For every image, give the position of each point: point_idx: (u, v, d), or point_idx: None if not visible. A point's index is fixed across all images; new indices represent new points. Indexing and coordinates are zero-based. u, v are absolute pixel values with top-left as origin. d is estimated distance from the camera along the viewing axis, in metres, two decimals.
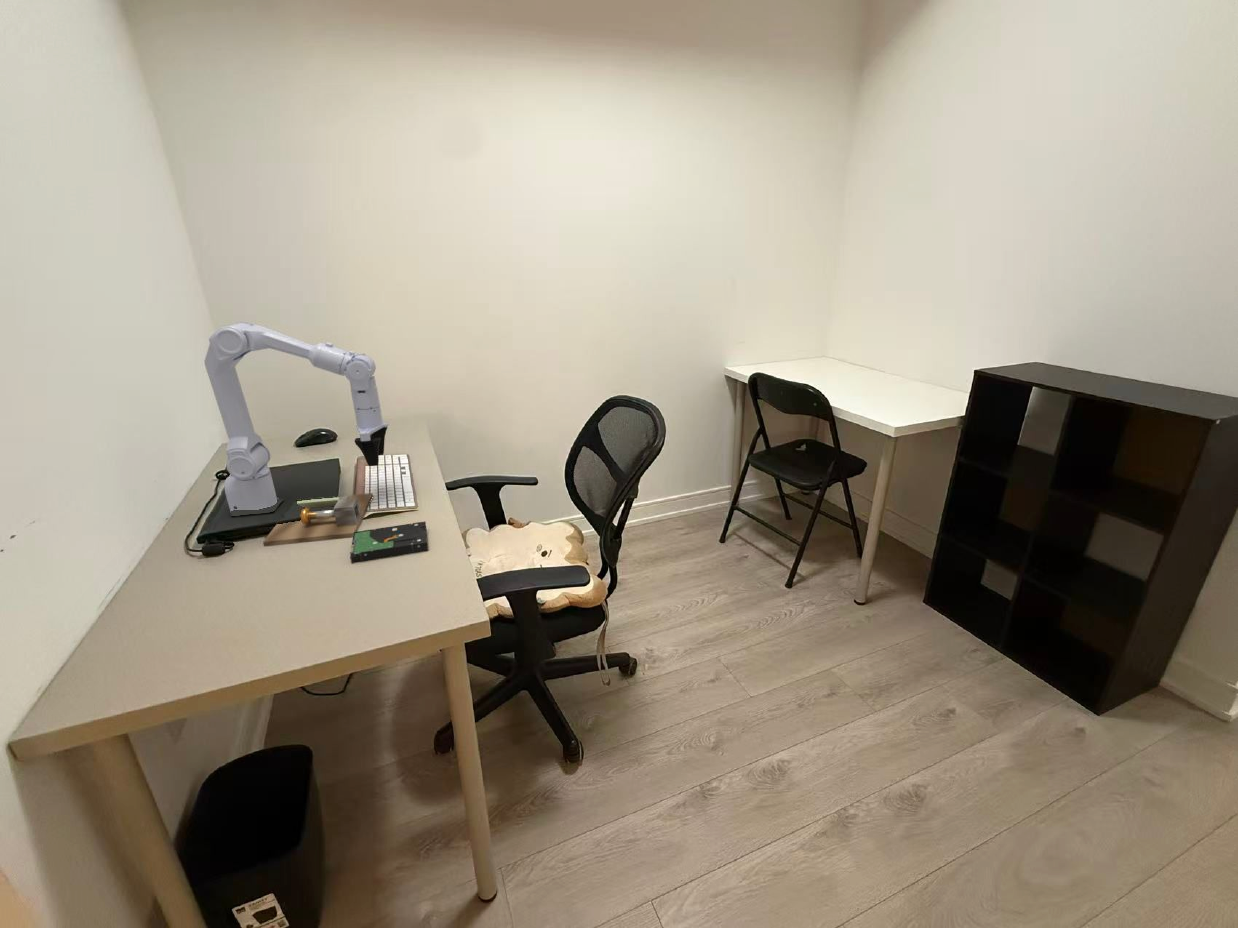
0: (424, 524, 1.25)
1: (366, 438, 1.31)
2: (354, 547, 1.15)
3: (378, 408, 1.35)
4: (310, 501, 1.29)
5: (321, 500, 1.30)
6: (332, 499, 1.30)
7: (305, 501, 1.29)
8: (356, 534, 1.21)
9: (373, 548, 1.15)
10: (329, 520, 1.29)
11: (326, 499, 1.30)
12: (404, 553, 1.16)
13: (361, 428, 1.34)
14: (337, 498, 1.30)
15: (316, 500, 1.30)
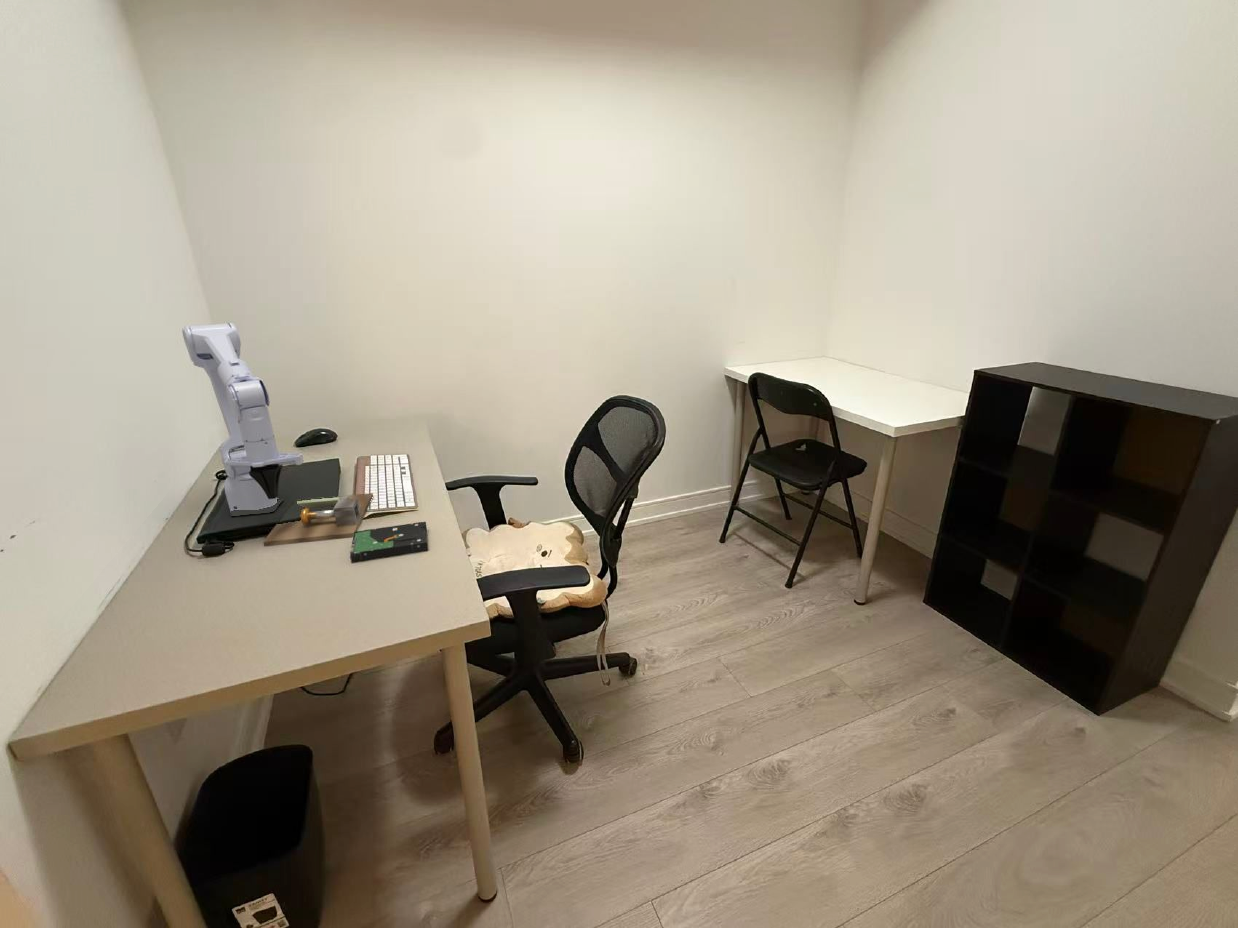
0: (424, 524, 1.25)
1: None
2: (354, 547, 1.15)
3: (249, 444, 1.16)
4: (310, 501, 1.29)
5: (321, 500, 1.30)
6: (332, 499, 1.30)
7: (305, 501, 1.29)
8: (357, 533, 1.21)
9: (373, 548, 1.15)
10: (329, 520, 1.29)
11: (326, 499, 1.30)
12: (404, 553, 1.16)
13: None
14: (337, 498, 1.30)
15: (316, 500, 1.30)
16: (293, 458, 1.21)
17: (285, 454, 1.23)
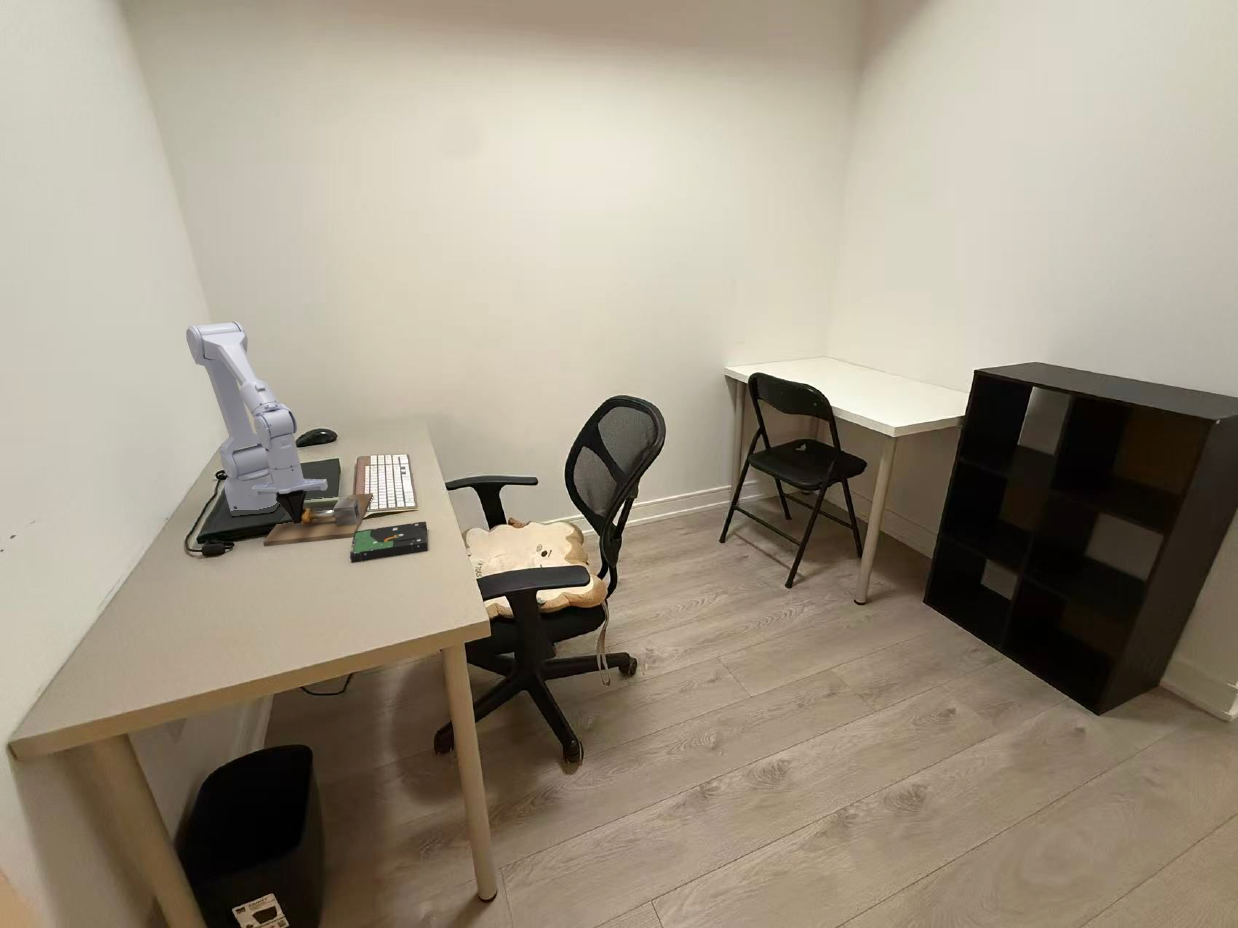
0: (424, 524, 1.25)
1: None
2: (354, 546, 1.16)
3: (276, 471, 1.19)
4: (310, 501, 1.29)
5: (321, 500, 1.30)
6: (332, 499, 1.30)
7: (305, 501, 1.29)
8: (357, 533, 1.21)
9: (373, 548, 1.15)
10: (329, 520, 1.29)
11: (326, 499, 1.30)
12: (404, 553, 1.16)
13: None
14: (337, 498, 1.30)
15: (316, 500, 1.30)
16: (318, 484, 1.24)
17: (310, 480, 1.26)
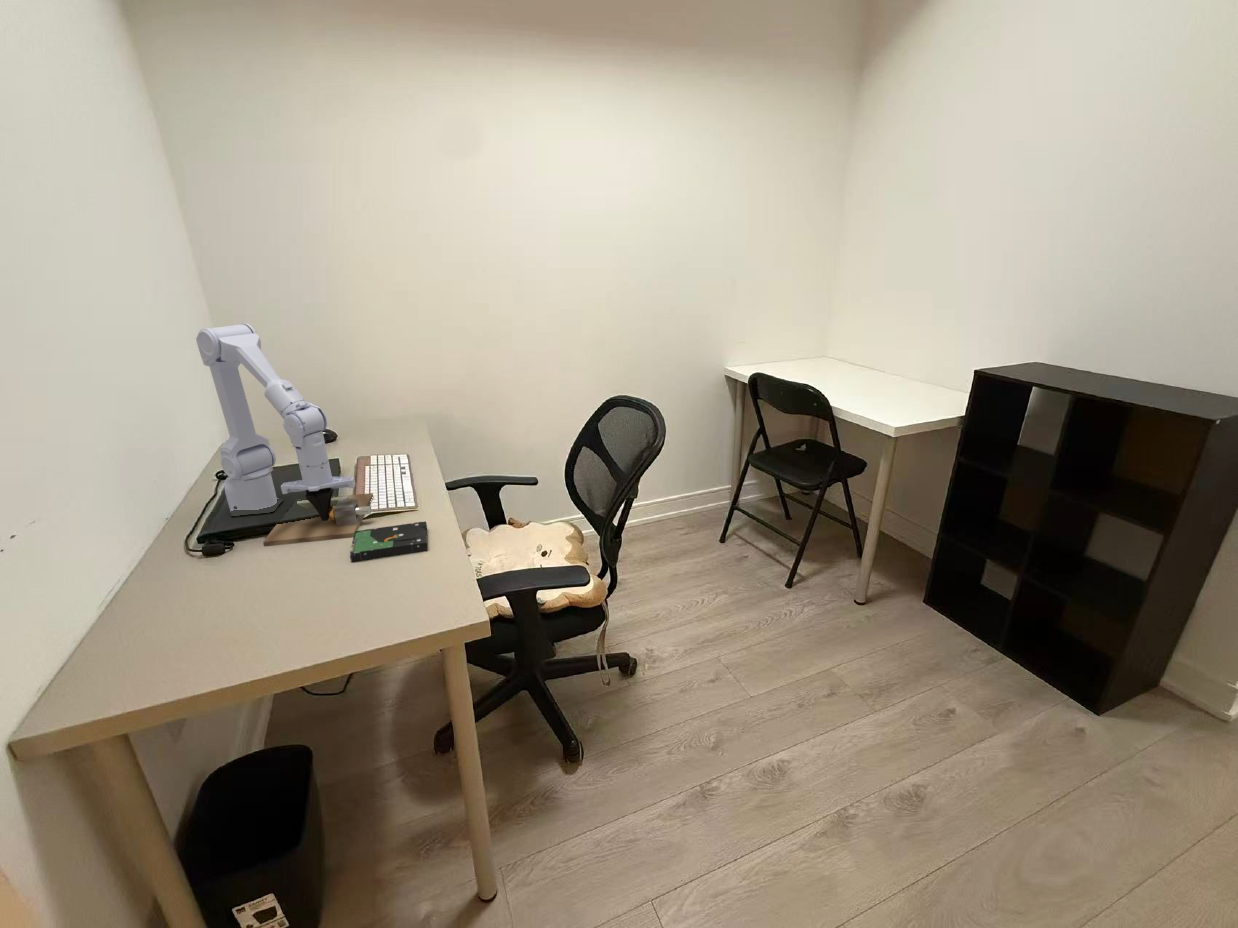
0: (425, 524, 1.25)
1: None
2: (354, 546, 1.16)
3: (306, 469, 1.21)
4: None
5: None
6: (332, 499, 1.30)
7: (305, 501, 1.29)
8: (357, 533, 1.21)
9: (373, 548, 1.15)
10: (329, 520, 1.29)
11: None
12: (404, 553, 1.16)
13: None
14: (337, 498, 1.30)
15: None
16: (346, 482, 1.25)
17: (338, 477, 1.27)
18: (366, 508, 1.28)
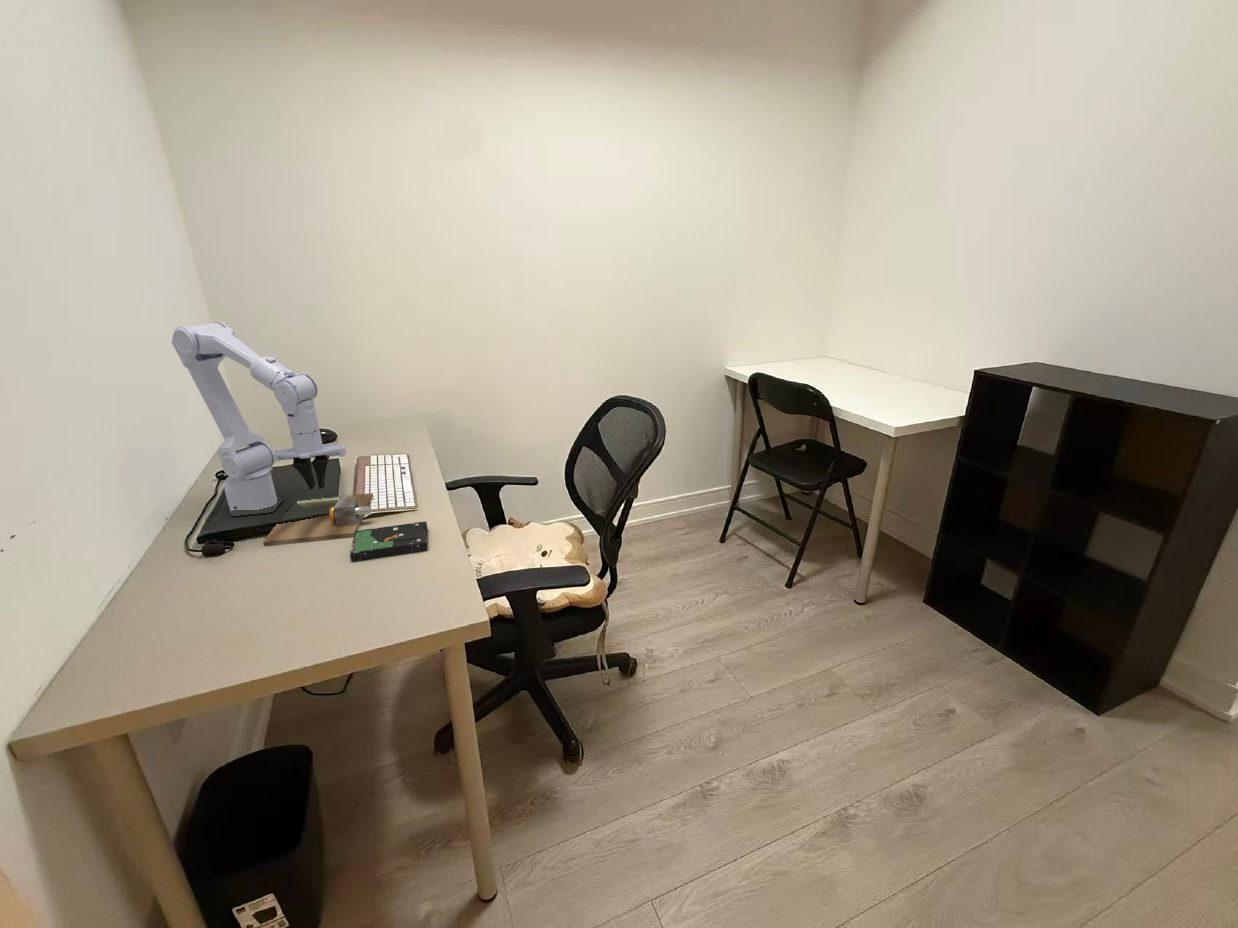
0: (425, 524, 1.25)
1: None
2: (354, 546, 1.16)
3: (297, 436, 1.23)
4: (310, 501, 1.29)
5: (321, 500, 1.30)
6: (332, 499, 1.30)
7: (305, 501, 1.29)
8: (358, 533, 1.21)
9: (373, 548, 1.15)
10: (329, 520, 1.29)
11: (326, 499, 1.30)
12: (403, 553, 1.17)
13: None
14: (337, 498, 1.30)
15: (316, 500, 1.30)
16: (337, 450, 1.27)
17: (329, 446, 1.29)
18: (366, 508, 1.28)
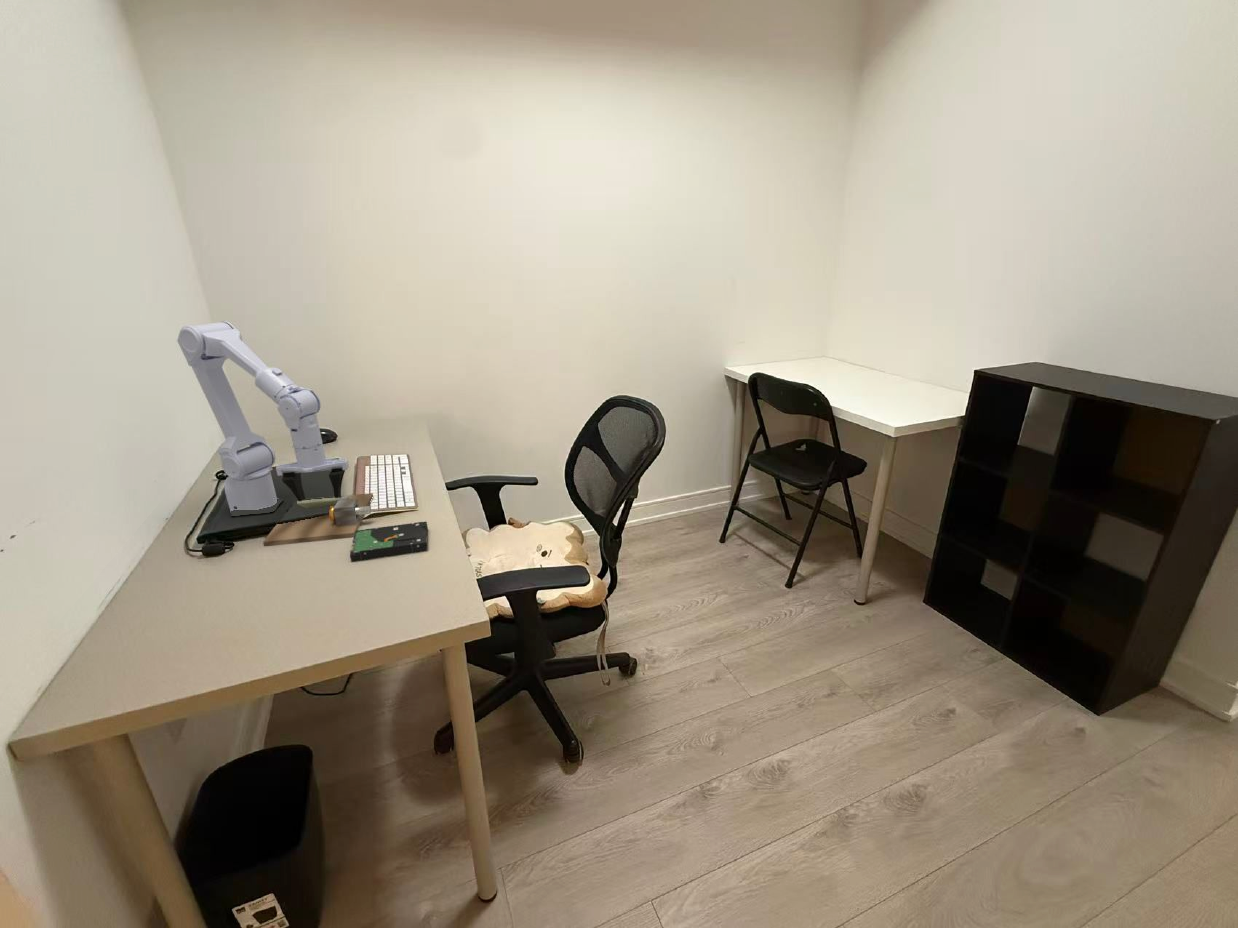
0: (425, 524, 1.25)
1: None
2: (354, 546, 1.16)
3: (300, 450, 1.24)
4: (310, 501, 1.29)
5: (321, 500, 1.30)
6: (332, 499, 1.30)
7: (305, 501, 1.29)
8: (358, 532, 1.21)
9: (373, 547, 1.15)
10: (329, 520, 1.29)
11: (326, 499, 1.30)
12: (403, 553, 1.17)
13: None
14: (337, 498, 1.30)
15: (316, 500, 1.30)
16: (340, 463, 1.28)
17: (332, 460, 1.30)
18: (366, 508, 1.28)
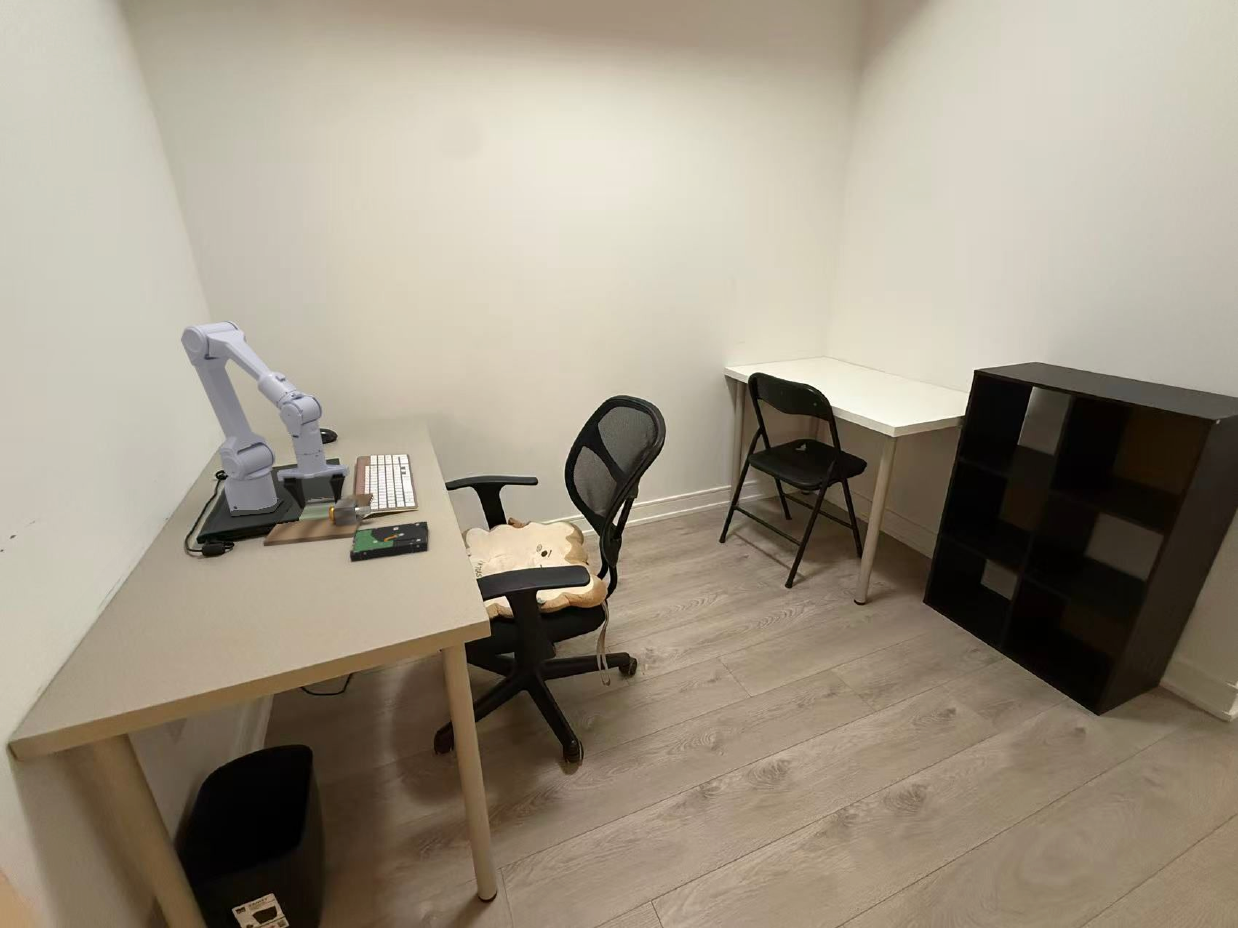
0: (425, 524, 1.25)
1: None
2: (354, 545, 1.16)
3: (301, 456, 1.24)
4: (312, 519, 1.30)
5: (323, 518, 1.30)
6: None
7: (307, 519, 1.30)
8: (358, 532, 1.21)
9: (373, 547, 1.15)
10: (329, 520, 1.29)
11: (328, 517, 1.30)
12: (403, 553, 1.17)
13: None
14: None
15: (318, 518, 1.30)
16: (341, 470, 1.29)
17: (332, 466, 1.31)
18: (366, 508, 1.28)
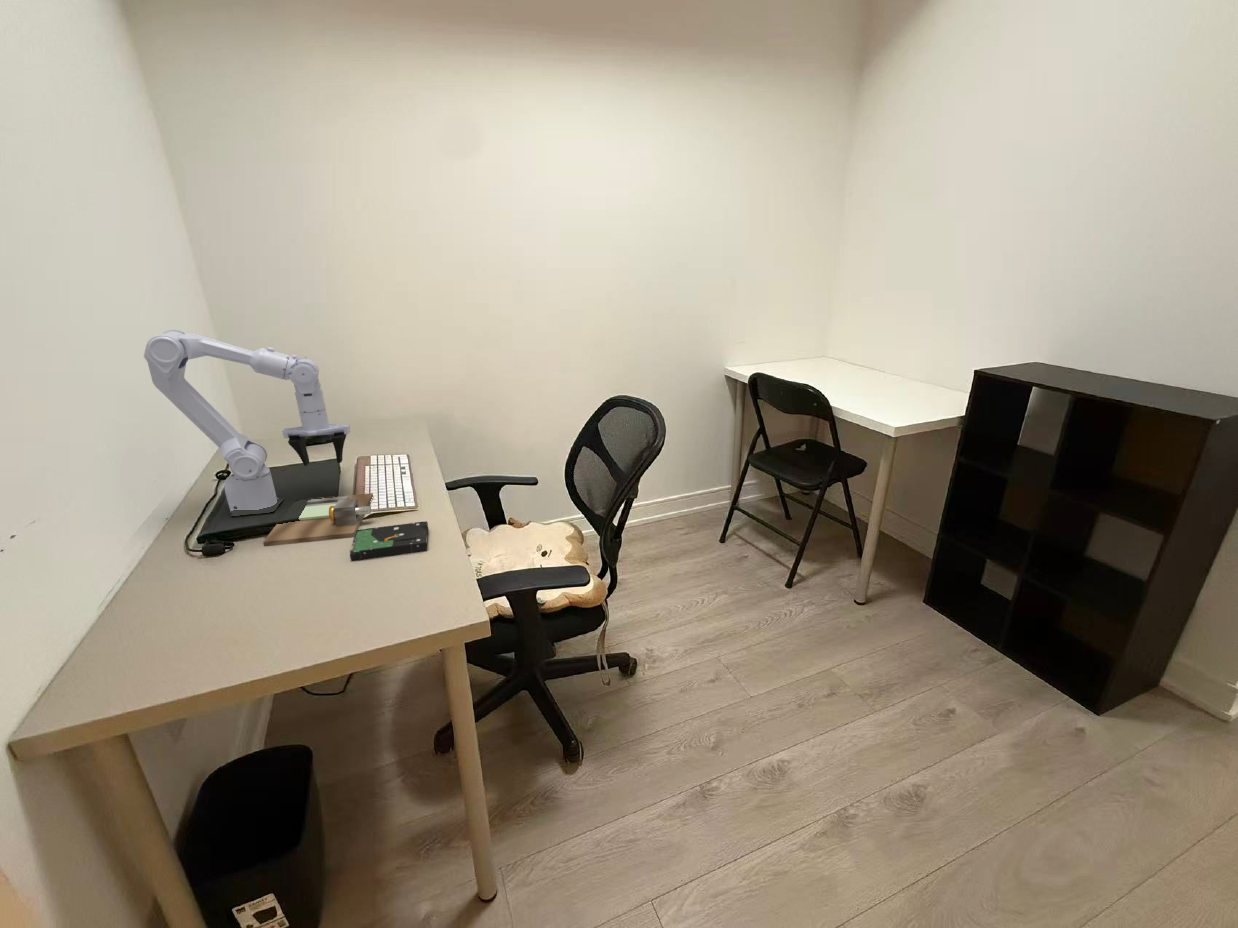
0: (425, 524, 1.25)
1: None
2: (354, 545, 1.16)
3: (305, 414, 1.33)
4: (312, 518, 1.30)
5: (323, 517, 1.30)
6: None
7: (307, 518, 1.29)
8: (359, 532, 1.22)
9: (372, 547, 1.15)
10: (329, 520, 1.29)
11: (328, 516, 1.30)
12: (403, 552, 1.17)
13: None
14: None
15: (318, 517, 1.30)
16: (342, 428, 1.38)
17: (334, 425, 1.40)
18: (366, 508, 1.28)
